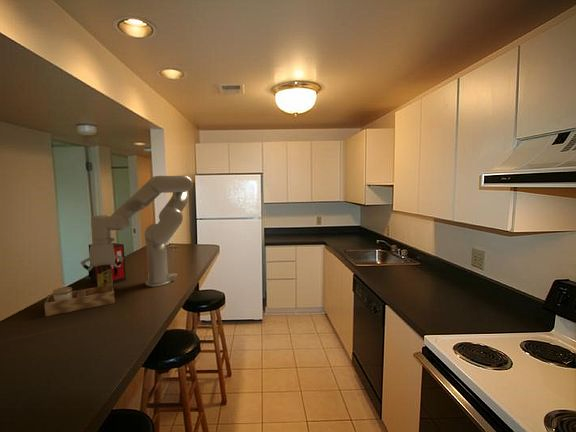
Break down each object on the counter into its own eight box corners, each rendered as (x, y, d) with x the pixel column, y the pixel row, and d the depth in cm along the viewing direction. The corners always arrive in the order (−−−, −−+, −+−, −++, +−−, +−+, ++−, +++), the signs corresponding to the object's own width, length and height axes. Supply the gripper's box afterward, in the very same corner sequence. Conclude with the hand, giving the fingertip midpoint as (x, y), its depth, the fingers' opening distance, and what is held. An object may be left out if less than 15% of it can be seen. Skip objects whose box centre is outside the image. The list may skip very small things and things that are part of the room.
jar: (74, 303, 128) (72, 285, 127) (73, 308, 123) (71, 290, 122) (55, 307, 125) (53, 288, 124) (53, 312, 120) (51, 293, 119)
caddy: (113, 296, 138) (112, 284, 138) (114, 304, 129) (114, 291, 129) (49, 308, 126) (47, 295, 125) (45, 318, 116) (44, 304, 116)
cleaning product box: (125, 280, 162) (123, 244, 160) (109, 285, 154) (107, 247, 152) (107, 276, 170) (105, 241, 168) (91, 280, 162) (88, 244, 160)
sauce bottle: (106, 296, 139) (102, 254, 137) (94, 295, 140) (91, 254, 138) (116, 291, 145) (113, 251, 143) (105, 290, 147) (102, 251, 144)
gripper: (121, 238, 148) (123, 272, 149) (79, 242, 138) (81, 277, 140) (123, 241, 142) (124, 275, 143) (79, 244, 132) (81, 281, 134)
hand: (103, 276), depth 142 cm, fingers open, 9 cm apart
